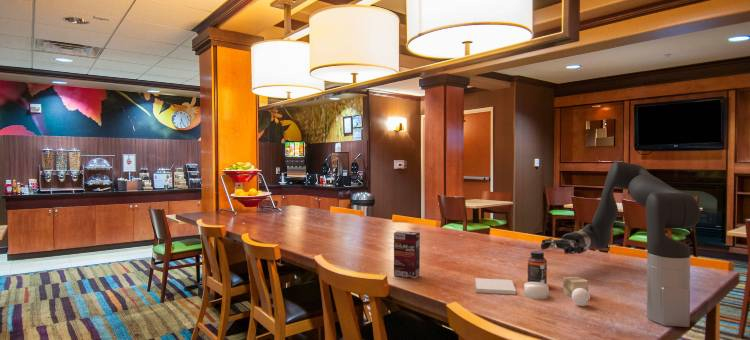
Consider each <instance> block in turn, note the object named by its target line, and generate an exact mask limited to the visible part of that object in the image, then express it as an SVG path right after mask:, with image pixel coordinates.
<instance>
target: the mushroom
mask: <svg viewBox="0 0 750 340" xmlns="http://www.w3.org/2000/svg"><path fill="white" fill-rule="evenodd" d="M590 299H591V294H590V293H589V290H588V291H587V290H585V289H583V288H577V289H575V290H574V291H573V292H572V297H571V300H572V301H573V302H574V303H575V304H576V305H577V306H578V307H586V306H587V305H588V301H590Z"/></svg>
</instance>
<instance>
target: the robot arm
mask: <svg viewBox="0 0 750 340" xmlns="http://www.w3.org/2000/svg"><path fill="white" fill-rule="evenodd" d="M606 175H607V176H606V178H605V182H604V185H603V189H602V192H601V195H600V196H601V197H600V201H599V203H598V206H597V209H596V211H595V213H594V215H593V217H592V220H591V222H592V223H587V224H586V225H584V227H583V228H582V229H581V230H576V231H572V232H568V233H565V234H563V235H562V236H561V238H557V239H554V238H552V237H551V238H546V239H542V240H541V243H540V248H541V250H542V251H543V250H547V249H552V250H560V251H564V254H566V255H568V254H570V255H575V254H583V253H585V252H587V249H590V248H592V247H595V248H596V249H598V250H603V249H605V248H607V247H608V246H609V244H610V242H611V240H612V229H613V225H614V223H615V221H616V219H617V217H618V213H619V208H618V207H619V206H618V204H617V201H616V198H615V195H614V189H615V188H617V189H623V190H628V194H629V196H630V197H631V199H632V200H634V201H635V202H636V203H637V204H638V205H640V206H641V207H643V208H645V220H646V223H645V224H646V244H647V249H646V250H647V257H646V260H647V261H646V318H648V320H650V321H652V322H654V323H657V324H659V325H661V326H664V327H665V326H669V327H670V326H671V327H683V328H690V327H691V326H690V322H691V319H690V318H691V317H690V315H691V313H690V312H691V280H690V279H691V248H690V247H691V246H690V245H689V244H687V243H685V242H682V241H679V240H676V239H673V238H672V237H670V236H668V235H667V234H666V230H665V229H677V230H678V229H679V230H680V229H681V230H682V229H683V230H686V229H690V228H693V227H694V226H696V225H697V224H698V223H699V221H700V218H701V208H700V205H699V202H698V201H697V200H696V198H695V197H694V196H693V195H692V194H690V193H687V192H685V191H683V190H680V189H679V190H678V189H676V188H674V186H673V187H672V186H671V185H669V184H668V183H666V182H664V181H663V180H661V179H660V178H658V177H657V176H654V175H653V174H651V173H650V172H649V171H648V170H647V169H646V168H645V167H644V166H642V165H641V164H640V165H639V164H636V163H631V162H625V161H620V160H619V161H615V162H614V161H613V163H612V164H611V165H610V167H609V170H608V173H607V174H606Z"/></svg>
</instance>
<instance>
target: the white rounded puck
mask: <svg viewBox="0 0 750 340" xmlns="http://www.w3.org/2000/svg"><path fill="white" fill-rule="evenodd" d="M523 284H524V289H523V291H524V293H523V295H524V297H526V298H529V299H532V300H547V299H549V297H550V296H549V291H550V290H549V285H548V284H545V283H541V282H528V281H526V282H524V283H523Z"/></svg>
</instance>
